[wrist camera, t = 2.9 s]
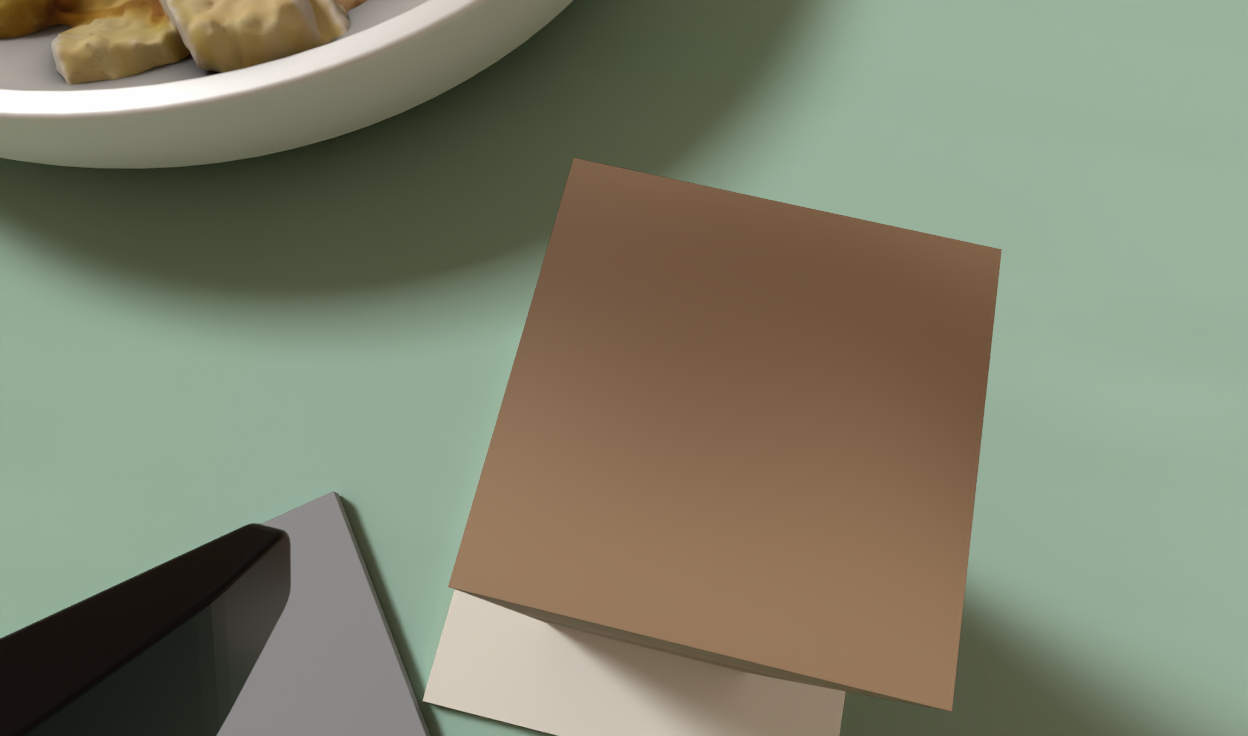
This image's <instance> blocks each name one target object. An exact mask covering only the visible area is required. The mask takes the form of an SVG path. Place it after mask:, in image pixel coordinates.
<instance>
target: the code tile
mask: <svg viewBox="0 0 1248 736" xmlns="http://www.w3.org/2000/svg"><path fill="white" fill-rule="evenodd" d="M845 694H846V691H841V690H835V689H830V688H825V687H819V686H814V685H809V684H803V683H798V682H793V681H788V680H782V679H777V678H772V677H766V676H761V675H756V674H750V673H746V672H742V671H737V670H733V669H729V668H725V667H721V666H717V665H713V664H709V663H705V662H701V661H697V660H693V659H689V658H685V657H681V656H677V655H673V654H669V653H665V652H661V651H657V650H653V649H649V648H645V647H641V646H637V645H633V644H629V643H625V642H621V641H617V640H613V639H609V638H605V637H601V636H597V635H593V634H589V633H585V632H581V631H577V630H573V629H569V628H565V627H561V626H556V625H552V624H548V623H545V622H542V621H540V620H537V619H534V618H531V617H529V616H526V615H523V614H521V613H518V612H515V611H513V610H510V609H507V608H504V607H502V606H499V605H496V604H494V603H491V602H488V601H486V600H483V599H480V598H477V597H475V596H472V595H469V594H467V593H464V592H461V591H458V590H456V589H455V591H454V594H453V598H452V601H451V605H450V608H449V611H448V615H447V618H446V622H445V625H444V629H443V632H442V636H441V639H440V642H439V646H438V649H437V653H436V656H435V660H434V663H433V667H432V670H431V673H430V677H429V680H428V684H427V687H426V691H425V694H424V698H423V701H425V702H429V703H433V704H437V705H440V706H444V707H448V708H452V709H456V710H460V711H464V712H468V713H472V714H476V715H479V716H483V717H487V718H491V719H495V720H499V721H503V722H507V723H511V724H514V725H518V726H522V727H526V728H530V729H534V730H538V731H542V732H546V733H550V734H553V735H557V736H839V735H840V728H841V721H842V715H843V708H844V701H845Z"/></svg>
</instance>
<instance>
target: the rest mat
mask: <svg viewBox="0 0 1248 736" xmlns="http://www.w3.org/2000/svg"><path fill="white" fill-rule="evenodd" d="M262 525H266V526H270V527H274V528H278V529H282V530H284V531H286V532H287V533H288V535H289V537H290V542H291V590H290V595H289V599H288V602H287V604H286V607H285V609H284V611H283V613H282V615H281V617H280V619H279V620H278V622H277V624H276V626H275V628H274V630H273V632H272V634H271V636H270V637H269V639H268V641H267V643H266V645H265V647H264V649H263V651H262V653H261V654H260V656H259V658H258V660H257V662H256V664H255V666H254V668H253V670H252V672H251V673H250V675H249V677H248V679H247V681H246V683H245V685H244V687H243V689H242V690H241V692H240V694H239V696H238V698H237V700H236V702H235V704H234V706H233V708H232V709H231V711H230V713H229V715H228V717H227V718H226V720H225V722H224V724H223V726H222V727H221V729H220V731H219V732H218V734H217V736H430V733H429V731H428V728H427V726H426V723H425V720H424V718H423V715H422V712H421V710H420V707H419V705H418V702H417V699H416V697H415V694H414V691H413V689H412V686H411V683H410V681H409V678H408V676H407V673H406V670H405V668H404V665H403V662H402V660H401V657H400V654H399V652H398V649H397V647H396V644H395V641H394V639H393V636H392V633H391V631H390V628H389V625H388V623H387V620H386V618H385V615H384V612H383V610H382V607H381V604H380V602H379V599H378V596H377V594H376V591H375V589H374V586H373V583H372V581H371V578H370V575H369V573H368V570H367V568H366V565H365V562H364V560H363V557H362V554H361V552H360V549H359V546H358V544H357V541H356V539H355V536H354V533H353V531H352V528H351V525H350V523H349V520H348V517H347V515H346V512H345V510H344V507H343V504H342V502H341V499H340V496H339V494H338V493H336V492H334V491H333V492H330V493H328V494H326V495H324V496H322V497H319V498H317V499H315V500H313V501H311V502H308V503H306V504H304V505H302V506H299V507H297V508H295V509H293V510H291V511H288V512H286V513H284V514H282V515H280V516H277V517H275V518H273V519H271V520H268V521H266V522H264V523H262Z"/></svg>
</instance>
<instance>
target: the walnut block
mask: <svg viewBox="0 0 1248 736" xmlns="http://www.w3.org/2000/svg"><path fill="white" fill-rule="evenodd" d="M1000 259H1001V249H997V248H992V247H987V246H983V245H978V244H973V243H969V242H964V241H959V240H955V239H950V238H945V237H941V236H936V235H931V234H927V233H922V232H917V231H913V230H908V229H903V228H899V227H894V226H889V225H885V224H880V223H875V222H871V221H866V220H861V219H857V218H852V217H847V216H843V215H838V214H833V213H829V212H824V211H819V210H815V209H810V208H805V207H801V206H796V205H791V204H787V203H782V202H777V201H773V200H768V199H763V198H759V197H754V196H749V195H745V194H740V193H736V192H731V191H726V190H722V189H717V188H712V187H708V186H703V185H698V184H694V183H689V182H684V181H680V180H675V179H670V178H666V177H661V176H656V175H652V174H647V173H642V172H638V171H633V170H628V169H624V168H619V167H614V166H610V165H605V164H600V163H596V162H591V161H586V160H582V159H577V158H574V159H573V162H572V166H571V169H570V172H569V176H568V179H567V183H566V186H565V189H564V193H563V196H562V200H561V203H560V207H559V210H558V213H557V217H556V220H555V224H554V227H553V230H552V234H551V237H550V241H549V244H548V248H547V251H546V254H545V258H544V261H543V265H542V268H541V271H540V275H539V278H538V282H537V285H536V289H535V292H534V295H533V299H532V302H531V306H530V309H529V312H528V316H527V319H526V323H525V326H524V330H523V333H522V336H521V340H520V343H519V347H518V350H517V353H516V357H515V360H514V364H513V367H512V371H511V374H510V377H509V381H508V384H507V388H506V391H505V394H504V398H503V401H502V405H501V408H500V412H499V415H498V418H497V422H496V425H495V429H494V432H493V435H492V439H491V442H490V446H489V449H488V453H487V456H486V459H485V463H484V466H483V470H482V473H481V476H480V480H479V483H478V487H477V490H476V494H475V497H474V500H473V504H472V507H471V511H470V514H469V517H468V521H467V524H466V528H465V531H464V535H463V538H462V541H461V545H460V548H459V552H458V555H457V558H456V562H455V565H454V569H453V572H452V576H451V579H450V582H449V586H448V587H450V588H453V589H456V590H458V591H461V592H464V593H467V594H469V595H472V596H475V597H477V598H480V599H483V600H486V601H488V602H491V603H494V604H496V605H499V606H502V607H504V608H507V609H510V610H513V611H515V612H518V613H521V614H523V615H526V616H529V617H531V618H534V619H537V620H540V621H542V622H545V623H548V624H552V625H556V626H561V627H565V628H569V629H573V630H577V631H581V632H585V633H589V634H593V635H597V636H601V637H605V638H609V639H613V640H617V641H621V642H625V643H629V644H633V645H637V646H641V647H645V648H649V649H653V650H657V651H661V652H665V653H669V654H673V655H677V656H681V657H685V658H689V659H693V660H697V661H701V662H705V663H709V664H713V665H717V666H721V667H725V668H729V669H733V670H737V671H742V672H746V673H750V674H756V675H761V676H766V677H772V678H777V679H782V680H788V681H793V682H798V683H803V684H809V685H814V686H819V687H825V688H830V689H835V690H841V691H846V692H851V693H856V694H862V695H867V696H872V697H878V698H883V699H888V700H894V701H899V702H904V703H909V704H915V705H920V706H925V707H931V708H936V709H941V710H947V711H952V706H953V697H954V687H955V678H956V669H957V659H958V650H959V641H960V631H961V622H962V613H963V603H964V594H965V585H966V576H967V566H968V557H969V548H970V538H971V529H972V520H973V510H974V501H975V492H976V482H977V473H978V464H979V454H980V445H981V436H982V426H983V417H984V408H985V398H986V389H987V380H988V371H989V361H990V352H991V343H992V333H993V324H994V315H995V305H996V296H997V287H998V277H999V268H1000Z"/></svg>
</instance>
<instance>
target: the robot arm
mask: <svg viewBox="0 0 1248 736" xmlns="http://www.w3.org/2000/svg"><path fill="white" fill-rule="evenodd" d="M290 590H291V542H290V537H289V535H288V533H287V532H286V531H284V530H282V529H278V528H274V527H270V526H266V525H262V524H256V523H253V524H248V525H246V526H243V527H241V528H239V529H237V530H234V531H232V532H230V533H228V534H226V535H224V536H221V537H219V538H217V539H215V540H213V541H211V542H208V543H206V544H204V545H202V546H200V547H198V548H195V549H193V550H191V551H189V552H187V553H185V554H182V555H180V556H178V557H176V558H174V559H172V560H169V561H167V562H165V563H163V564H161V565H159V566H156V567H154V568H152V569H150V570H148V571H146V572H143V573H141V574H139V575H137V576H135V577H133V578H130V579H128V580H126V581H124V582H122V583H120V584H117V585H115V586H113V587H111V588H109V589H107V590H105V591H102V592H100V593H98V594H96V595H94V596H92V597H89V598H87V599H85V600H83V601H81V602H79V603H76V604H74V605H72V606H70V607H68V608H66V609H63V610H61V611H59V612H57V613H55V614H53V615H50V616H48V617H46V618H44V619H42V620H40V621H37V622H35V623H33V624H31V625H29V626H27V627H24V628H22V629H20V630H18V631H16V632H14V633H11V634H9V635H7V636H5V637H3V638H1V639H0V736H217V734H218V732H219V731H220V729H221V727H222V726H223V724H224V722H225V720H226V718H227V717H228V715H229V713H230V711H231V709H232V708H233V706H234V704H235V702H236V700H237V698H238V696H239V694H240V692H241V690H242V689H243V687H244V685H245V683H246V681H247V679H248V677H249V675H250V673H251V672H252V670H253V668H254V666H255V664H256V662H257V660H258V658H259V656H260V654H261V653H262V651H263V649H264V647H265V645H266V643H267V641H268V639H269V637H270V636H271V634H272V632H273V630H274V628H275V626H276V624H277V622H278V620H279V619H280V617H281V615H282V613H283V611H284V609H285V607H286V604H287V602H288V599H289V595H290Z"/></svg>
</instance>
